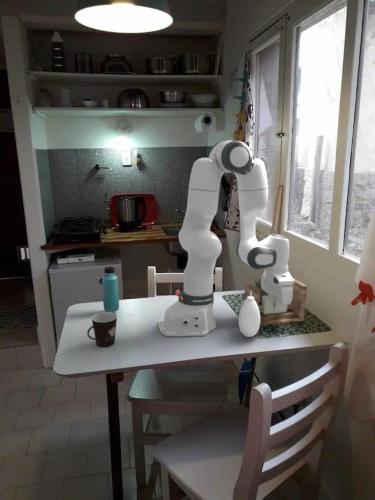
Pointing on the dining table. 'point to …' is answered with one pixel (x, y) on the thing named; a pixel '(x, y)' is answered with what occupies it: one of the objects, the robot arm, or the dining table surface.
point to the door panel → (271, 306)
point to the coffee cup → (262, 292)
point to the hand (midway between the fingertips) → (274, 306)
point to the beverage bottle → (110, 290)
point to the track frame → (294, 308)
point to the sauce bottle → (249, 317)
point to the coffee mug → (104, 328)
